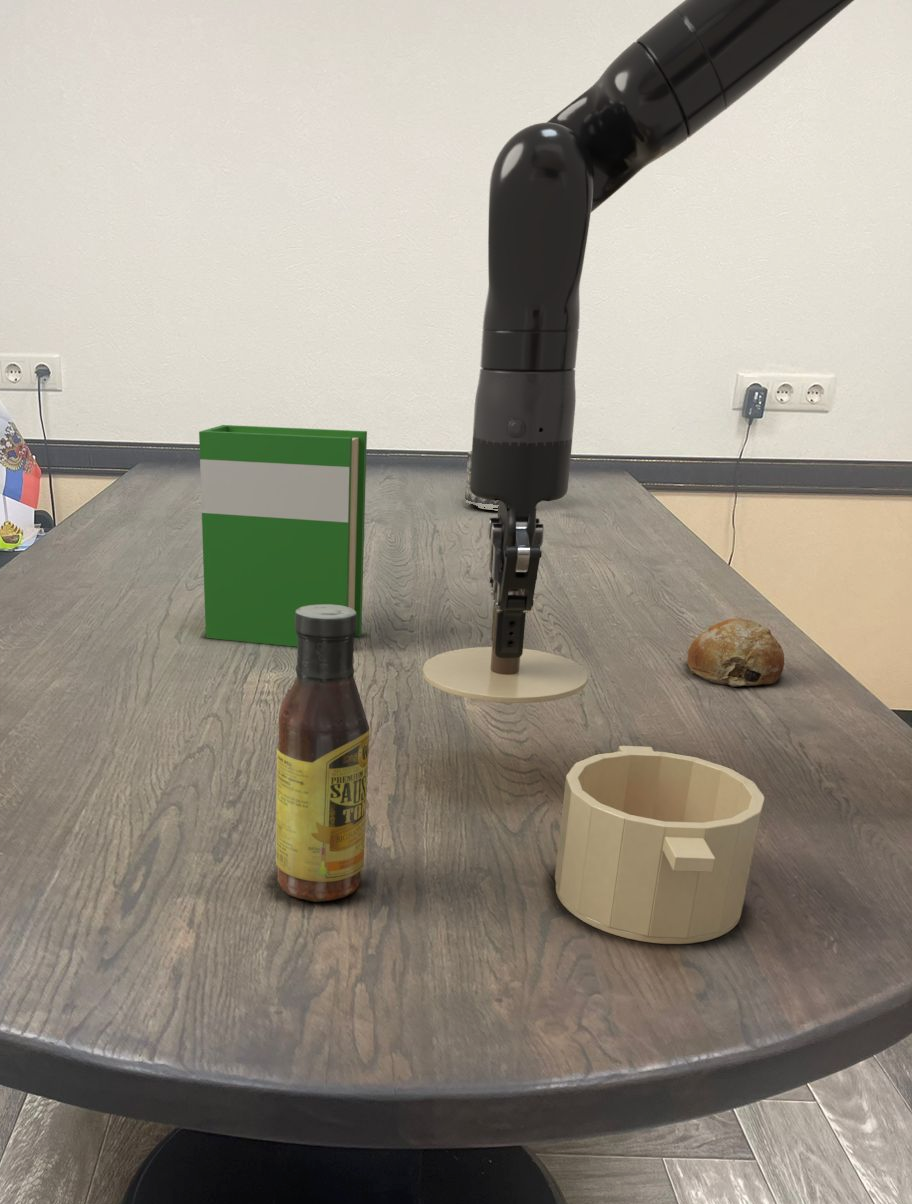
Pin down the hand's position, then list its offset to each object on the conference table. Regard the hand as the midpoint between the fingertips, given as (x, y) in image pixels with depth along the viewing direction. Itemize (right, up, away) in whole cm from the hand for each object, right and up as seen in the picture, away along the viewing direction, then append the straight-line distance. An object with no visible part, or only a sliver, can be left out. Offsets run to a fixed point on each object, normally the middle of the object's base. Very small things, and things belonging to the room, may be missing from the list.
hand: (506, 650), depth 91 cm
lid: (0, -2, +1) cm, 2 cm away
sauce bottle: (-16, -19, -12) cm, 27 cm away
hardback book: (-20, +8, +44) cm, 49 cm away
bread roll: (+31, +2, +32) cm, 45 cm away
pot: (+7, -19, -14) cm, 25 cm away
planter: (+20, +45, +127) cm, 136 cm away
